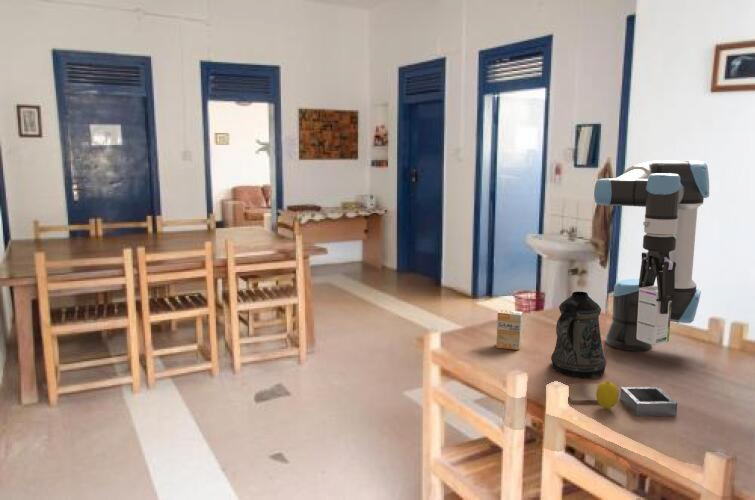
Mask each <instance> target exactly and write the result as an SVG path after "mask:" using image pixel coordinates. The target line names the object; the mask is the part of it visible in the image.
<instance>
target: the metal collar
mask: <svg viewBox="0 0 755 500" xmlns="http://www.w3.org/2000/svg"><path fill="white" fill-rule="evenodd" d="M619 398H620V401H621V402H623V404H624V405H625V406H626V407H627V408H628V409H629V410H630V411H631V412H632V414H633V415H635V417H677V415H678V414H677V413H678V402H676V401H675V400H674V399H673V398H672V397H671V396H669V395H668V394H667V392H665V391H664V390H663V389H662V388H660V387H659V386H628V387H627V386H624V387H623V386H620V395H619Z"/></svg>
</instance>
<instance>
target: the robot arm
mask: <svg viewBox="0 0 755 500" xmlns="http://www.w3.org/2000/svg"><path fill="white" fill-rule="evenodd" d="M709 176H710V174H709V168H708V165H707V163H706V162H705V161H702V160H691V159H690V160H689V159H688V160H651V161H645V162H642V163H638V164H635V165H633V166H632V165H631V166H630V167H628V168H626V169H625V170H624V171H623V173H622V174H621V175H619V176H617V177H615V178H609V177H607V178H599V179H597V180H596V181H595V185H594V188H593V189H594V190H593V191H594V192H593V200H594V202H595V203H596V205H600V206H606V207H609V206H614V207H615V206H617V207H618V206H620V207H639V208H641V207H642V208H645V214H644V221H643V223H642V224H643V229H644V230H643V233H645V234H644V235H643V240H642V248H643V250H646V251H647V252H645V251H644V252H643V251H642V252H641V265H640V272H639V277H638V278H631V279H629V278H628V279H623V280H619V281H618V282H616V283H615V284H614V289H613V294H612V295H613V299H612V302H613V303H612V320H611V322H610V325H609V328H608V330H607V332H606V335H605V343H606V344H607V345H609V346H610V347H613V348H615V349H618V350H624V351H633V352H639V351H640V352H642V351H649V350H650V349H652V347H653V345H651V344H648V343H645V342H642V341H640V340H637V339H636V336H637V318H638V301H639V288H643V287H648V286H652V285H655V283H656V285H657V287H658V296H659V299H656V301H657V304H656V318H655V325H656V326H667V319H668V306H669V301H672V302H671V317H670V323H671V322H672V323H676V324H679V323H681V324H692V323H693V322H694V321H695V317H696V314H697V310H698V306H699V302H700V299H701V294H702V293H701V292H702V290H699V289H697V283H696V282H695V281H694V280H693V271H694V270H693V267H694V255H695V242H696V231H697V218H698V217H697V216H698V209H699V208H700V207H701V205H703V204H704V201H705V199H707V198H709V197H710V177H709Z"/></svg>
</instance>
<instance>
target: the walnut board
mask: <svg viewBox="0 0 755 500" xmlns="http://www.w3.org/2000/svg"><path fill="white" fill-rule="evenodd" d="M565 384H566V385H568V386H569V399H568V401H569V402H570V403H571V405H573V404H576V405H577V404H578V405H581V404H582V405H583V404H585V405H587V404H589V405H590V404H597V405H600V404H599V403H598V401H597V398H596V392H597V388H598V386H599V385H600V384H599V383H565Z"/></svg>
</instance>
